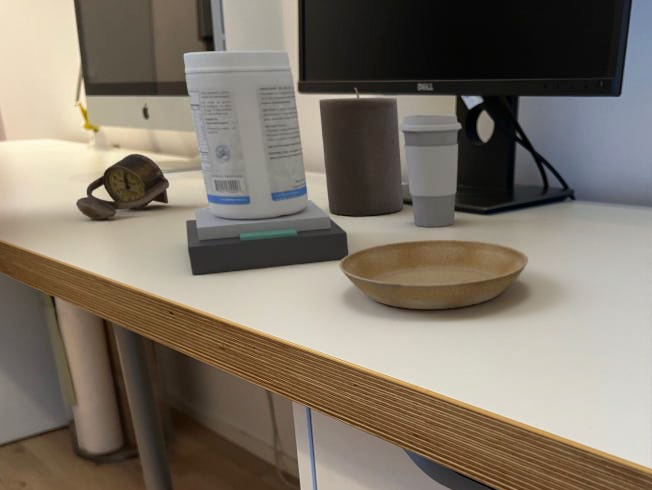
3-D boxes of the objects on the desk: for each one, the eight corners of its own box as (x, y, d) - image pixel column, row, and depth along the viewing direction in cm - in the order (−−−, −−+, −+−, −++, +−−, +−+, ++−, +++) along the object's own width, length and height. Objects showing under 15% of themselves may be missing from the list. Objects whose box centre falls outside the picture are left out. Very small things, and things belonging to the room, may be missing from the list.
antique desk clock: (188, 166, 94) (143, 147, 98) (95, 167, 83) (49, 146, 88) (185, 218, 97) (142, 197, 101) (95, 225, 86) (50, 202, 90)
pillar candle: (347, 219, 85) (335, 88, 80) (318, 208, 93) (305, 88, 87) (417, 210, 90) (410, 86, 85) (384, 201, 98) (376, 86, 92)
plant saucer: (439, 259, 65) (438, 231, 64) (565, 287, 56) (566, 255, 55) (305, 293, 56) (301, 261, 55) (429, 334, 46) (427, 296, 45)
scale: (192, 275, 62) (185, 233, 60) (190, 244, 74) (184, 208, 72) (348, 258, 66) (345, 219, 65) (322, 231, 78) (319, 198, 77)
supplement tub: (297, 201, 75) (280, 53, 70) (319, 215, 67) (302, 49, 62) (203, 209, 72) (177, 54, 66) (214, 225, 64) (185, 49, 58)
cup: (446, 215, 86) (443, 113, 82) (475, 223, 81) (472, 115, 77) (394, 222, 83) (388, 116, 78) (421, 231, 78) (415, 117, 73)
